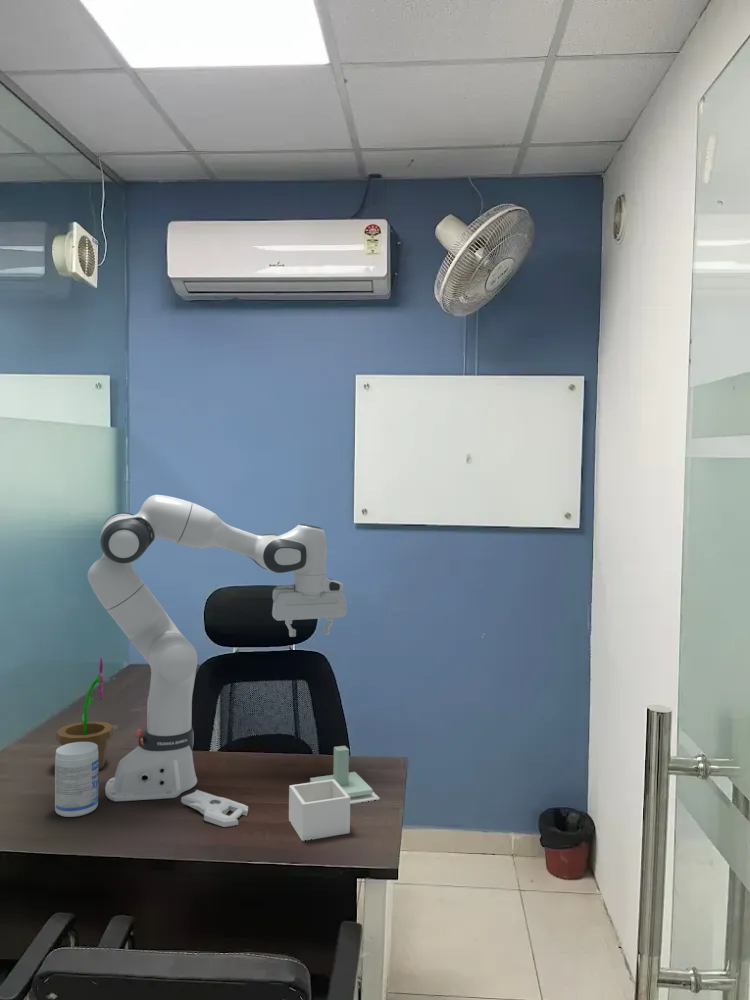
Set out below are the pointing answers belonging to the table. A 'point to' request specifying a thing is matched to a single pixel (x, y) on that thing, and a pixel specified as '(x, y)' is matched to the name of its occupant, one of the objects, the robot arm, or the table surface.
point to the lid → (345, 775)
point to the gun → (215, 808)
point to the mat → (363, 798)
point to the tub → (319, 809)
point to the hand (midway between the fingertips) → (309, 635)
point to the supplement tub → (76, 779)
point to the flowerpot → (89, 726)
